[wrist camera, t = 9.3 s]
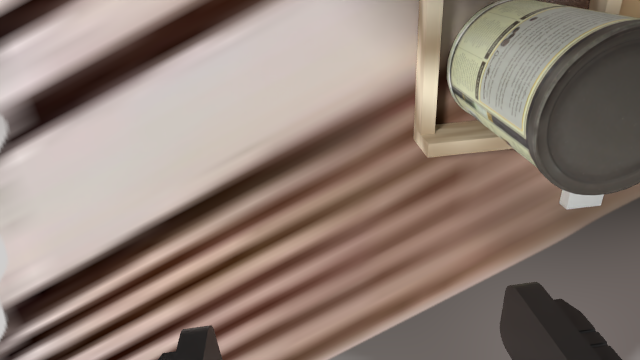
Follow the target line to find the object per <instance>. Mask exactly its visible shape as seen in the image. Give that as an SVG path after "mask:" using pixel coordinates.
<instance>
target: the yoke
mask: <svg viewBox="0 0 640 360" xmlns="http://www.w3.org/2000/svg"><path fill="white" fill-rule="evenodd" d="M621 4H622V0H590V4H589V9H588V10H593V11H599V12H606V13H611V14H618V15H619V12H620V8H621ZM442 15H443V0H419V20H418V44H417V69H416V93H415V118H414V140H415V141H416V143H417V144H418V145H419V147H420V148H421V149H422V151H423V152H424V153H425V155H426V156H427V157H438V156H448V155H457V154H467V153H476V152H486V151H496V150H505V149H513V148H512V147H511V146H510V145H508V144H507V143H506V142H505V141H504V140H502V139H501V138H500V137H499V136H497V135H496V134H495V133H494V132H492V131H491V130H490V129H489V128H487V127H486V126H485V125H483V124H482V123H481V122H480V121H479V120H476V121H466V122H456V123H446V124H436V125H435V121H436V106H437V91H438V76H439V60H440V45H441V30H442Z"/></svg>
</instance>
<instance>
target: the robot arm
mask: <svg viewBox="0 0 640 360" xmlns="http://www.w3.org/2000/svg"><path fill="white" fill-rule="evenodd" d="M500 333H501V338H502V341H503V344H504V346H505V348H506V350H507V352H508V353H509V355H510V357H511V358H512V360H622V359H621V358H620V357H619V356H618V355H617V353H616V352H615V351H614V350H613V349H612V348H611V346H608V345H607V342H606V341H605V339H604V338H603V337H602V336H601V335H600V334H599V332H596V331H595V328H594V327H593V325H592V324H591V323H590V322H589V321H588V320H587V318H586V317H585V316H584V315H583V314H582V313H581V312H580V311H579V310H577V309H576V308H574V307H573V306H571V305H569V304H568V303H567V302H565V301H564V300H562V299H556V300H553V299H552V298H551V297H550V295H549V294H548V293H547V292H546V290H545V289H544V288H543V287H542V286H541V285H540V284H539V283H537V282H532V283H524V284H517V285H510V286H508V287H507V288H506V291H505V297H504V303H503V309H502V315H501V321H500ZM158 360H222V357H221V354H220V350H219V346H218V343H217V339H216V336H215V332H214V329H213V327H212V326H204V327H196V328H189V329H183V330H182V331H181V334H180V338H179V342H178V346H177V350H176V352H169V353H163V354H162V355H161V356H160V358H159V359H158Z"/></svg>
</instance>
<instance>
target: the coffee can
mask: <svg viewBox="0 0 640 360" xmlns="http://www.w3.org/2000/svg"><path fill="white" fill-rule="evenodd" d="M447 82H448V86H449V89H450V92H451V95H452V97H453V98H454V100H455V101H456V103H457V104H458V105H459V106H460V107H461V108H462V109H463V110H465V111H466V112H468V113H469V114H471V115H472V116H474V117H475V118H476V119H477V120H479V121H480V122H481V123H482V124H483V125H485V126H486V127H487V128H489V129H490V130H491V131H492V132H494V133H495V134H496V135H497V136H499V137H500V138H501V139H502V140H504V141H505V142H506V143H507V144H508V145H510V146H511V147H512V148H513V149H514V150H515V151H517V152H518V153H519V154H521V155H522V156H523V157H525V158H526V159H527V160H528V161H530V162H531V163H532V164H533V165H534V166H536V167H537V168H538V169H539V171H540V172H541V173H542V174H543V175H544V176H545V177H546V178H547V179H548V180H549V181H550V182H551V183H553V184H554V185H555V186H557V187H559V188H560V189H562V190H564V191H567V192H570V193H573V194H579V195H603V194H609V193H614V192H618V191H621V190H624V189H627V188H629V187H632V186H633V185H636V184H638V183H639V182H640V18H635V17H629V16H623V15H618V14H611V13H606V12H599V11H593V10H587V9H581V8H576V7H570V6H564V5H558V4H552V3H547V2H541V1H536V0H500V1H497V2H495V3H493V4H491V5H489V6H487V7H485V8H484V9H482V10H480V11H479V12H477V13H476V14H475V15H474V16H473V17H472V18H471V19H470V20H469V21H468V22H467V23H466V24H465V25H464V27H463V28H462V29H461V31H460V32H459V34H458V35H457V37H456V39H455V41H454V43H453V45H452V48H451V51H450V54H449V57H448V64H447Z"/></svg>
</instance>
